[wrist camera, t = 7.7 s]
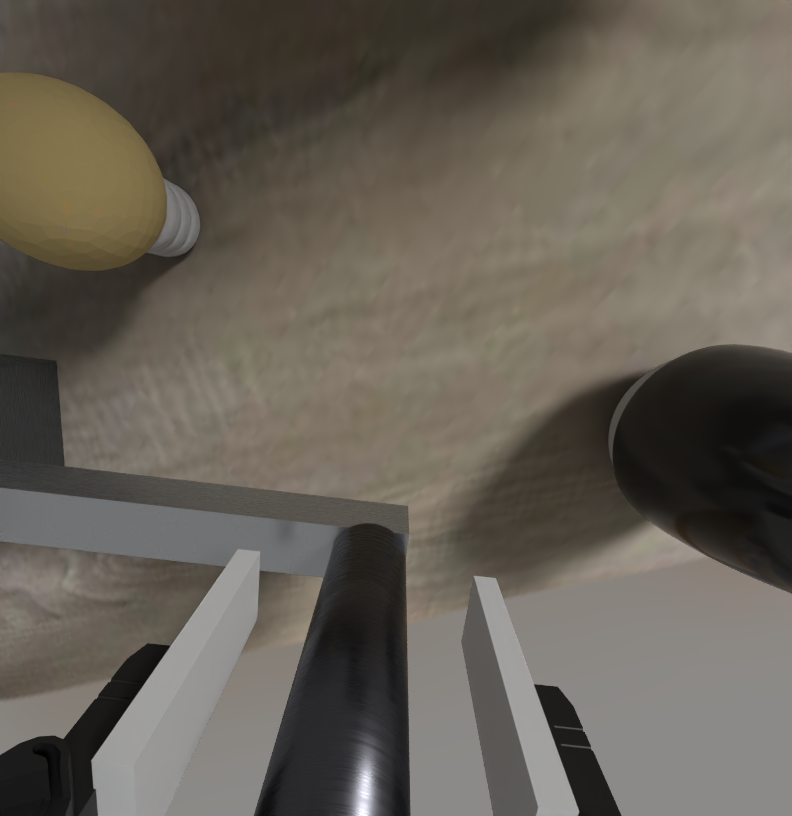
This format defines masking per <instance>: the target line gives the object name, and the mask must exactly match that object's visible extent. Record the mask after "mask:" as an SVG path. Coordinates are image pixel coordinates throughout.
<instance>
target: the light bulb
mask: <svg viewBox="0 0 792 816" xmlns="http://www.w3.org/2000/svg"><path fill="white" fill-rule="evenodd" d="M199 232H200V218H199V214H198V210H197V208H196V206H195V204H194V202H193V200H192V199H191V197H190V196H189V195H188V194H187V193H186V192H185V191H184V190H182V189H181V188H180V187H178V186H177V185H175V184H173V183H170V182H169V181H167V180H166V179H164V178H163V177H162V173H161V171H160V169H159V166H158V164H157V162H156V160H155V158H154V156H153V154H152V152H151V151H150V149H149V147H148V146H147V144H146V143H145V141H144V140H143V139H142V138H141V136H140V135H139V134H138V133H137V131H136V130H135V129H134V128H133V127H132V125H131V124H130V123H129V122H128V121H127V120H126V119H125V118H123V117H122V116H121V115H120V114H119V113H118V112H116V111H115V110H114V109H113V108H112V107H110V106H109V105H108V104H107V103H106V102H104V101H102V100H101V99H99V98H97V97H96V96H94V95H92V94H90V93H88V92H87V91H85V90H83V89H81V88H80V87H78V86H75V85H72V84H70V83H67V82H64V81H61V80H58V79H56V78H51V77H47V76H43V75H39V74H32V73H15V72H4V73H0V239H1V240H2V241H3V242H5V243H7V244H8V245H10V246H12V247H13V248H15V249H17V250H18V251H20V252H22V253H24V254H27V255H29V256H31V257H33V258H35V259H38V260H40V261H43V262H46V263H49V264H52V265H55V266H59V267H62V268H66V269H73V270H81V271H102V270H108V269H113V268H118V267H122V266H124V265H126V264H129V263H131V262H133V261H135V260H137V259H138V258H140V257H141V256H142V255H144V254H145V253H151V254H156V255H159V256H164V257H175V256H179V255H181V254H184V253H186V252H187V251H188V250H190V249H191V248H192V247H193V245H194V244H195V242H196V241H197V238H198V235H199Z"/></svg>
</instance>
